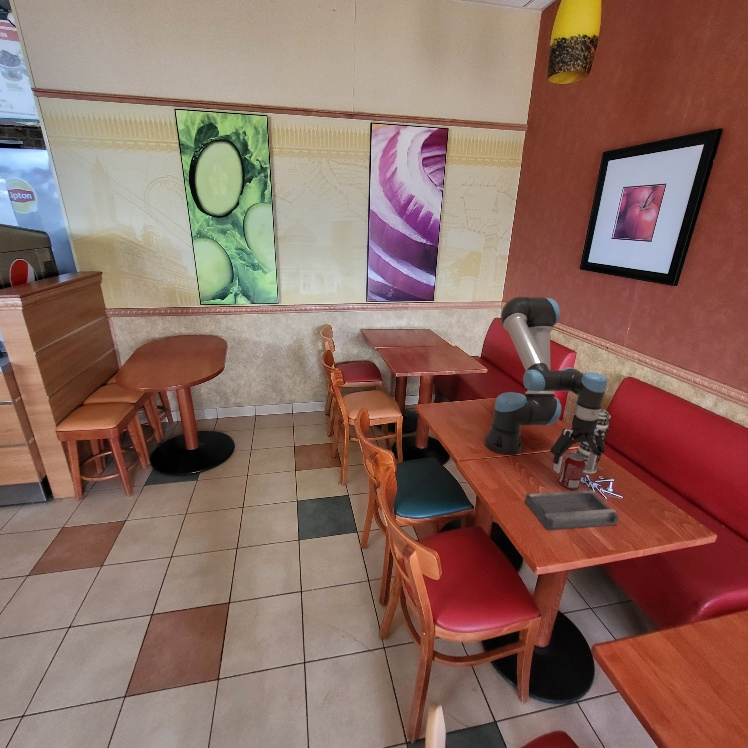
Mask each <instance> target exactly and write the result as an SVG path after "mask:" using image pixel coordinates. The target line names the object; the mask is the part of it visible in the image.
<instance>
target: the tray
mask: <svg viewBox="0 0 748 748" xmlns="http://www.w3.org/2000/svg"><path fill="white" fill-rule="evenodd" d="M524 502H525V503H526V505H527V507H529V509H530V510H531V511H532V512H533V513H534V515H535V517H536V518H538V520H539V521H540V523H541V524H542V525H543V526H544V528H545V529H546V530H547V531H552V530H553V531H554V530H565V529H578V528H580V529H581V528H591V527H594V528H595V527H607V526H616V525H617V523H618V520H619V517H620V515H618V514H617V511H616V510H615V509H614V508H611V507H610V506H608V504H606V503H605V502H604V501H603V500H602V499H601V498H600V497H599V496H598V495H597V494H596V492H595V491H594V490H593V489H588V488H587V489H586V490H574V491H573V490H571V491H557V492H554V491H553V492H540V493H539V492H538V493H531V492H527V493H526V494H525V498H524Z"/></svg>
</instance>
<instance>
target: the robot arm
mask: <svg viewBox="0 0 748 748" xmlns="http://www.w3.org/2000/svg"><path fill="white" fill-rule="evenodd" d="M560 313H561V311H560V307H559V304H558V302H557V301H555V300H554V299H553V298H550V297H549V298H548V297H545V296H542V297H541V296H537V297H534V296H533V297H532V296H516V297H513V298H511V299H509V301H507V302H506V303H505V304H504V306H503V308H502V310H501V314H500V321H501V325H502V327H503V328H504V330H505V331H507V333H509V337H510V338H511V341H512V343H513V345H514V348H515V350H516V352H517V354H518V356H519V359H520V361H521V363H522V365H523V368H524V370H525V372H524V374H523V377H522V381H523V386H524V388H525V389H526V390H527V391H525V393H524V394H522V393H519V392H515V391H514V392H513V391H509V392H508V391H507V392H503V393H501V394H499V395H498V396H497V397H496V400H495V404H494V406H493V408H494V410H493V414H492V422H491V427H490V428H489V430H488V432H487V433H486V436H485V437H484V445H485V447H486V448H487V449H489V450H491V451H493V452H495V453H498V454H500V455H501V454H502V455H506V456H507V455H508V456H509V455H517V454H520V452H521V450H522V445H523V444H522V439H521V438H522V437H521V428H522V426H551V425H554V424H556V423H557V421H558V420H559V419H560V417H561V413H562V404H561V403H560V401H561V400H560V399H558V398H557V397H556V395H555V392H572V393H573V394H575V395H577V400H576V403H575V408H574V412H573V413H574V415H573V417H572V422H571V425H572V426H571V429H567V428H563V429H562V432H561V434H560V435H559V437H558V438H557V439H556V441H555V442H554V444H553V446H551V448H550V449H549V452H550V453H551V454H552V455H554V456H553V460H552V461H553V468H552V469H553V471H555V473H556V474H559V473H561V472H560V471H561V469H562V464H563V460H564V456H563V455H564V454H565V453H566V451H568V450H569V449H570V448H571V447H573V445H576V444H577V443H580V442H586V441H587V443H588V444H589V446H590V447H591V449H592V451H593V452H590V455H589V459H588V463H587V467H586V468H588V469H589V470H590V471H593V470H594V466H595V462H597V459H598V456H602V455H603V454H605V453H606V450H605V449H606V448H605V443H604V444H603V440H604V439H603V440H602V431H601V430H600V429H598V428H597V427H596V426H597V422H598V421H597V419H598V417H599V413H600V409H602V405H603V401H604V398H605V394H606V391H607V383H608V378H607V376H606V375H605V374H602V373H599V372H594V371H588V372H587V371H586V372H584V373H583V372H581V371H580V370H578V369H576V368H573V367H568V366H567V367H565V368H562V369H560V370H559V369H558V370H557V369H556V370H555V369H553V370H552V369H551V332H552V331H553V330H554V326H556V325H557V323H559V319H560V315H561V314H560ZM593 434H594V437H595V441H596V445H597V447H596V445H595V443H594V442H593V439H592V438H591V436H592V435H593Z"/></svg>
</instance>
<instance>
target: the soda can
mask: <svg viewBox="0 0 748 748" xmlns="http://www.w3.org/2000/svg"><path fill="white" fill-rule="evenodd" d="M584 465H585V462H584V457H583V456H582V455H580V454H578V453H577V452H573V451H570V452H568V453H567V455H566V456H564V457H563V461H562V465H561V469H560V471H561V472H560V474H559V478H558V481H559V483H560V485H562V486H564V487H565V488H568V489H578V488H579V486H580V483H581V479H582V476H583V473H584V472H583V469H584Z"/></svg>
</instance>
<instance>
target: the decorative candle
mask: <svg viewBox="0 0 748 748" xmlns="http://www.w3.org/2000/svg"><path fill="white" fill-rule="evenodd" d="M611 417H612V416H611V414H609V412H608V411H607V410H606V409H602V408H601V409H600V413H599V417H598V419H597V421H598V422H597V426H596V427H597V428H598V429H600V430H601V431H602V440H603V444H604V445H605V442H606V441H607V439H606V438H607V437H608V434H609V432H610V428H611V427H610V426H609V422H610V419H611ZM591 438H592V439H593V442H594V443H595V445H596V441H595V437H594V434H593V435H592V436H591ZM596 447H597V445H596ZM590 452H593V451H592V449H591V447H590V446H589V444H588V443H587V441H586V442H579V444H578V447H577V449H576V453H578V454H580V455H582V456H583V457H584V462H585V465H584V469H583V473H585V474H596V473H597V471H598V469H599V468H598V467H599V464H600V461H601V460H600V459H601V458H602V457H601V456H602V455H601V456H598V459H597V462H595V466H594V470H593V471H590V470H589V469H588V468H586V467H587V463H588V459H589V455H590Z"/></svg>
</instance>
